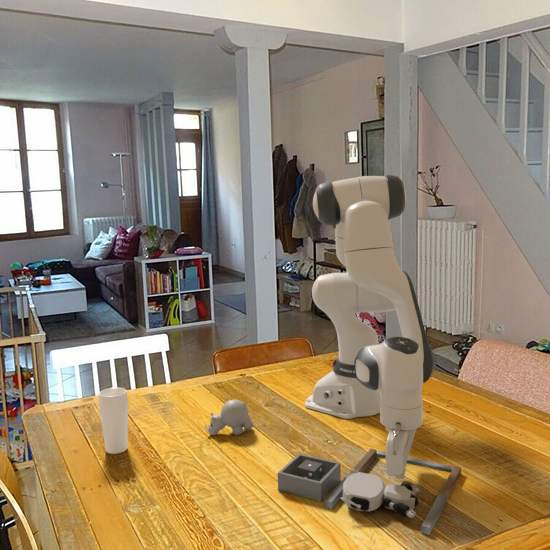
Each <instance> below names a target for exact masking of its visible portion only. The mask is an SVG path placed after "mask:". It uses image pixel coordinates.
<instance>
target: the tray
mask: <svg viewBox="0 0 550 550" xmlns="http://www.w3.org/2000/svg"><path fill="white" fill-rule="evenodd" d="M305 460H310V461H314V462H318V463H322V464H323V478H322V479H321V480H320V481H315V480H311V479H307V478H303V477H299V476H297V467H298V466H299V465H300V464H302V463H303V462H304V461H305ZM341 479H342V478H341V462H339V461H333V460H329V459H326V458H325V459H324V458H320V457H316V456H313V455H312V456H311V455H308V454H302V453H298V454H297V455H296V456H295V457H294V458H293V459H291V461H289V462H288V463H287V464H285V466H284V467H282V469H280V470H279V471H278V472H277V490H278V491H279V492H283V493H286V494H289V493H290V495H293V494H294V495H293V496H297V495H298V496H297V497H302V498H305V499H309V500H312V501H313V500H314V501H316V502H320V503H321V502H323V500H325V499H326V498H327V497H328V495H329V494H330V493H331V492H332V491H333V490H334V489H335V488H336V487H337V485H338V484H339V483H340V482H341V481H342V480H341ZM337 483H338V484H337ZM336 484H337V485H336ZM328 493H329V494H328ZM327 494H328V495H327Z"/></svg>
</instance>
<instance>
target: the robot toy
mask: <svg viewBox="0 0 550 550" xmlns="http://www.w3.org/2000/svg"><path fill="white" fill-rule="evenodd" d="M351 470H352V471H353V472H356V473H354V474H352V475H350V476H349V477H348V478H347V479H346V480H345V481H344V483H343V496H342V497H341V499H340V500H342V502H343V503H345V504H346V506H348V507H349V508H350V509H354V510H356V511H358V512H369V513H370V512H372V511H375V510H378V508H380V507H381V506H384V508H385V509H388V510H392V511H394V512H395V513H396V514H398V515H399V516H401V517H404V518H406V517H408V518H411V519H413V518H414V517H416V515H417V513H416V511H415V510H414V509H415V508H416V507H417V506H418V505H419V502H420V501H419V498H418V497H417V496H416V495H417V493H419V492H420V488H419V487H418V486H417V485H412V484H410V483H401V484H392V483H391V484H387V485H385V483H384V481H383V480H382V479H381V478H380V477H379V476H377V475H376V474H371V473H366V472H363V473H361V472H358V471H355V470H354V469H353V468H351V469H350V471H351Z"/></svg>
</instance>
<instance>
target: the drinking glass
mask: <svg viewBox="0 0 550 550" xmlns="http://www.w3.org/2000/svg"><path fill="white" fill-rule="evenodd" d="M128 401H129V399H128V391H127V389H126V388H123V387H109V388H104V389H103V390H100V391H99V392H98V407H99V408H98V409H99V410H98V411H99V416H100V422H101V423H100V424H101V427H102V433H103V434H102V435H103V439H104V449H105V452H106V453H108V454H109V455H118V454H122V453H123V452H125V451H127V450H128V448H129V447H128V446H129V445H128V422H129V421H128V418H129V402H128Z"/></svg>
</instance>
